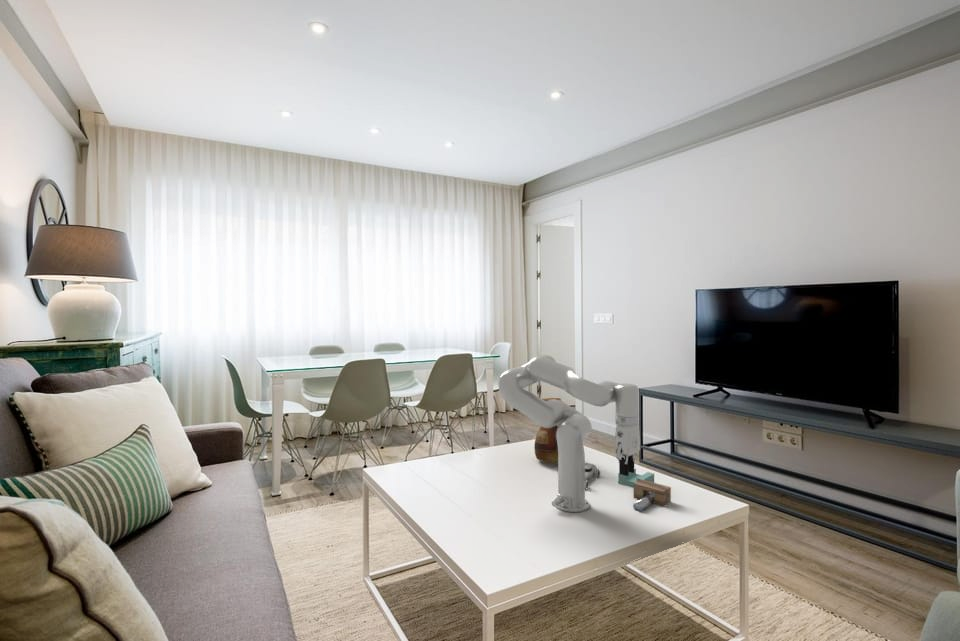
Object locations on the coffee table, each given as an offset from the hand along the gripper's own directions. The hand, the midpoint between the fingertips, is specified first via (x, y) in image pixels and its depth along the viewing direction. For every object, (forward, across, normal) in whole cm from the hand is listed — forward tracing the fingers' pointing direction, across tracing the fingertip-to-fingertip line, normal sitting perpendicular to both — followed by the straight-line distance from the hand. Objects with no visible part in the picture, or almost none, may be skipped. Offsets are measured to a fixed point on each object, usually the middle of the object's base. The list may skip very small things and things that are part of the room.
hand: (626, 472), depth 162 cm
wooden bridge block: (+15, +20, 0) cm, 25 cm away
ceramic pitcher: (+15, +32, +52) cm, 63 cm away
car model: (+16, +21, +31) cm, 41 cm away
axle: (+15, +14, 0) cm, 21 cm away
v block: (+15, +32, +12) cm, 37 cm away
